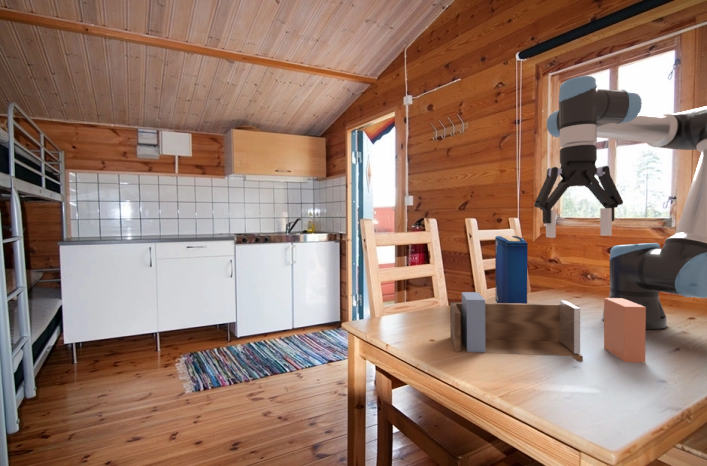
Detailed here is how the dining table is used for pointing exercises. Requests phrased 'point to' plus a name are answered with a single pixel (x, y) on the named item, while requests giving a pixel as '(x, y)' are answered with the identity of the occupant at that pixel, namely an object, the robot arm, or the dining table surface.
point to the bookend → (570, 326)
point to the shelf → (515, 329)
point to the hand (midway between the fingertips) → (578, 236)
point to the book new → (624, 329)
